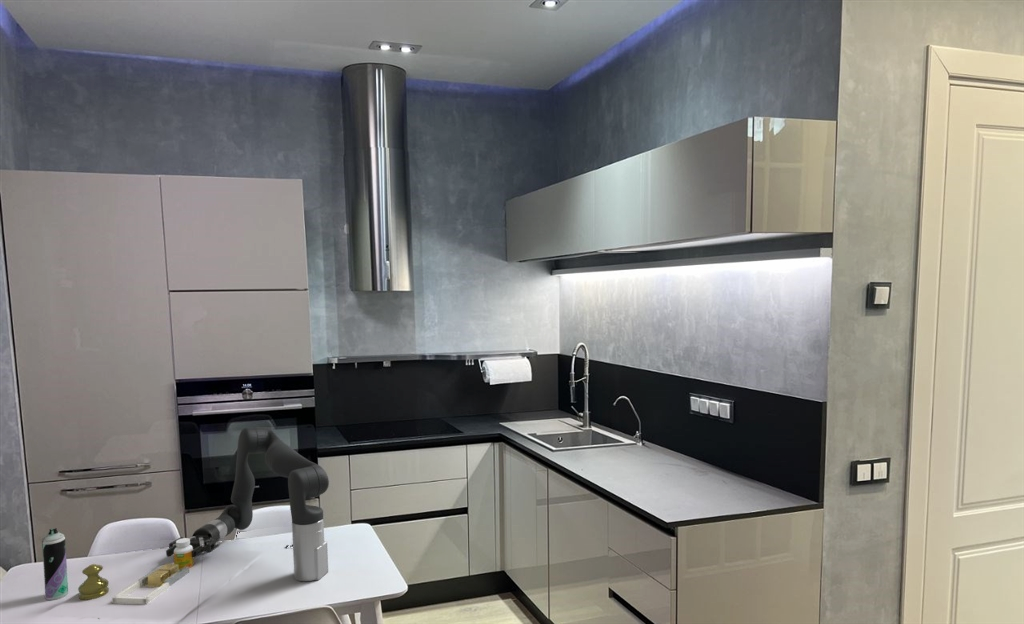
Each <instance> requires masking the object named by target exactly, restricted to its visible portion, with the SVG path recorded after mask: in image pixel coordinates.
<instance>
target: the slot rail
mask: <svg viewBox="0 0 1024 624" xmlns="http://www.w3.org/2000/svg"><path fill="white" fill-rule="evenodd" d="M164 565H165V564H164ZM164 565H158V567H155V569H153V570H151V571H150V572H149V573H148V572H147V574H145V575H144V576H142V577H141V578H139V579H138V580H137V582H140V586H141V587H140V588H159V587H160V586H148V576H149V575H150V574H152V573H153V572H155V571H156V570H158V569H159V568H161V567H162V566H164ZM189 574H190V568H189V566H185V567H183V568H182V569H180V570H179V571H177V572H176V573H175V574H173V575H172V576H170V577H169V578H167V579H166V580H164V584H165V583H169V588H170V587H171V586H173V585H174V584H176V583H177V582H179V581H180V580H181V579H183V578H184V577H186V575H189Z"/></svg>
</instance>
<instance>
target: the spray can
mask: <svg viewBox="0 0 1024 624" xmlns="http://www.w3.org/2000/svg"><path fill="white" fill-rule="evenodd" d="M41 545H42V547H41V548H42V559H43V561H42V562H43V564H42V565H43V580H44V594H45V601H55V600H58V599H59V600H60V599H62V598H65V597H67V596H68V595H69V585H68V584H69V583H68V566H67V565H68V564H67V549H66V548H67V547H66V537H65V534H64V533H61V532H60V531H58V529H57V528H56V527H55V528H49V531H48V533H47V534H46V536H44V537H43V538H42V541H41Z"/></svg>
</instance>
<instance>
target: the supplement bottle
mask: <svg viewBox="0 0 1024 624" xmlns="http://www.w3.org/2000/svg"><path fill="white" fill-rule="evenodd" d="M189 538H190V537H183V538H182V539H179V540H177V539H176V540H177V541H176V548H175V549H174V554H173V564H179V570H180V569H182V568H183V567H185V566H189V569H190V568H192V567H193V566H194V557H192V553H191V552H192V550H193V547H192V546H191V545H189V544H190V539H189Z"/></svg>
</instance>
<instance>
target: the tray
mask: <svg viewBox="0 0 1024 624" xmlns="http://www.w3.org/2000/svg"><path fill="white" fill-rule="evenodd" d="M139 588H142V587H141V586H140V582H138V581H136V582H134V583H133V584H131V585H130V586H129V587H127V588H125V589H123V590H122V591H120V592H119V593H117V594H116V595H114V596H113V597H111V598H112V604H122V605H123V604H124V605H125V604H127V605H128V604H129V605H148V604H149V603H150V602H152V601H153V600H154V599H156V598H157V597H159V596H160V595H161V594H163V593H164V592H166V591H167V590H169V589H170V587H169V583H165V584H163V585H162V586H160V587H156V589H155V590H153V591H152V592H150V593H149V594H147V595H146V596H129V595H131V594H132V593H134V592H135V591H136V590H138V589H139Z"/></svg>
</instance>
